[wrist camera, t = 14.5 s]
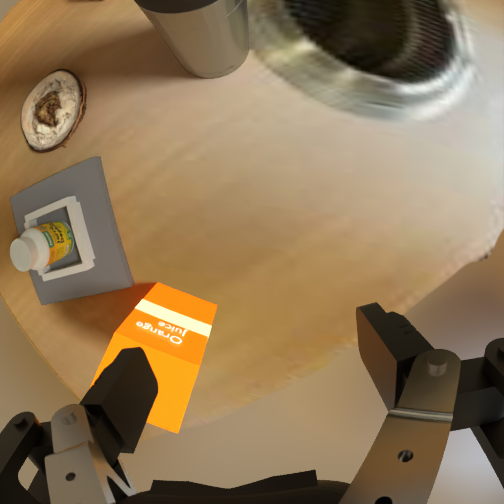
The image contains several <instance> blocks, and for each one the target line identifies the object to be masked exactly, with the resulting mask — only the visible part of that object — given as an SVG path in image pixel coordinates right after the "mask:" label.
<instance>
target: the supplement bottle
mask: <svg viewBox="0 0 504 504" xmlns="http://www.w3.org/2000/svg"><path fill="white" fill-rule="evenodd" d="M73 247H74V234H73V231H72V229H71V227H70V226H69V225H68V224H67V223H66V222H64V221H60V220H57V221H53V222H49V223H46V224H43V225H39V226H36V227H33V228H30V229H27V230H26V231H24V232H23V234H22V235H21V237H20V238H18V239H15V240H14V241H13V242H12V244H11V246H10V257H11V260H12V263H13V265H14V266H15V267H16V268H17V269H18V270H19V271H22V272H25V271H28V270H30V269H32V270H41V269H43V268H45V267H46V266H48V265H50V264H52V263H54V262H56V261H58V260H60V259H62V258H64V257H66V256H67V255H69V254H70V253H71V251H72V250H73Z"/></svg>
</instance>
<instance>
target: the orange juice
mask: <svg viewBox="0 0 504 504" xmlns="http://www.w3.org/2000/svg"><path fill="white" fill-rule="evenodd" d="M216 308H217V305H216V304H213V303H210V302H207V301H205V300H202V299H199V298H197V297H194V296H191V295H189V294H186V293H183V292H181V291H178V290H176V289H173V288H170V287H168V286H165V285H163V284H160V283H158V282H157V284H156V285H155V286H154V287H153V288H152V289H151V290H150V292H149V293H148V294H147V295H146V296H145V297H144V298H143V299H142V300H141V301H140V302H139V303H138V305H137V306H136V307H135V309H134V310H133V311H132V312H131V314H130V315H129V316H128V317H127V318H126V319H125V321H124V322H123V323H122V324H121V325H120V327H119V328H118V329H117V330H116V331H115V333H114V334H113V337H112V339H111V342H110V344H109V346H108V348H107V350H106V352H105V355H104V357H103V359H102V361H101V363H100V366H99V368H98V370H97V373H96V375H95V377H94V379H93V382H92V384H91V386H92V385H94V382H95V381H96V379H97V378H98V376H99V375H100V374H101V372H102V371H103V369H104V368H105V367H107V366H108V365H109V364H110V363H112V362H113V360H114V359H115V358H116V356H117V355H118V353H119V352H120V351H121V349H123V348H132V347H141V348H142V349H143V350H144V352H145V354H146V356H147V358H148V361H149V363H150V365H151V367H152V370H153V372H154V374H155V376H156V379H157V381H158V394H157V397H156V399H155V402H154V404H153V407H152V409H151V411H150V414H149V416H148V419H147V421H146V422H148V423H151V424H153V425H156V426H159V427H161V428H164V429H167V430H170V431H172V432H175V433H178V432H179V429H180V425H181V422H182V419H183V416H184V413H185V410H186V407H187V404H188V400H189V397H190V394H191V391H192V388H193V385H194V382H195V379H196V376H197V373H198V370H199V368H200V364H201V360H202V357H203V353H204V350H205V346H206V343H207V340H208V337H209V334H210V330H211V327H212V326H211V325H212V322H213V319H214V315H215V312H216ZM90 388H91V387H90Z"/></svg>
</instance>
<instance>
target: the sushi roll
mask: <svg viewBox="0 0 504 504" xmlns="http://www.w3.org/2000/svg"><path fill="white" fill-rule="evenodd" d="M86 96H87V95H86V87H85V85H84V83H82V82H81V81H80V80H79V78H78V77H77V76H76V75H75V74H74V73H72V72H71V71H69V70H66V69H58V70H56V71H54V72H52V73H50V74H49V75H47V76H46V77H45V78H44V79H42V80H41V81H40V82H39V83H38V84H37V85H36V86H35V87H34V88H33V89H32V90H31V93H29V94H28V96H27V98H26V99H25V101H24V104H23V108H22V115H21V123H22V128H23V131H24V135H25V138H26V139H27V140H26V141H27V142H28V144H29V145H30V147H31V148H32V149H33V150H35V151H37V152H48V151H52V150H54V149H56V148H58V147H60V146H62V145H64V147H65V148H66V146H65V144H66V143H67V141H68V140H69V139H70V137H71V136H72V134H73V133H74V132H75V130H76V129H77V127H78V124H79V123H80V122H81V121H82V119H83V116H84V114H85V110H86V105H87V104H85V103H86Z"/></svg>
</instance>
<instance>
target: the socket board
mask: <svg viewBox="0 0 504 504" xmlns="http://www.w3.org/2000/svg"><path fill="white" fill-rule="evenodd" d="M10 200H11V205H12V210H13V214H14V219H15V223H16V227H17V231H18V235H19V238H20V237H21V235H22V234H23V232H24V231H26V230H27V229H30V228H33V227H36V226H39V225H43V224H46V223H49V222H53V221H57V220H60V221H64V222H66V223H67V224H68V225H69V226H70V227H71V229H72V231H73V234H74V247H73V250H72V251H71V253H70V254H69V255H67V256H66V257H64V258H62V259H60V260H58V261H56V262H54V263H52V264H50V265H48V266H46V267H45V268H43V269H41V270H32V269H30V270H29V272H30V275H31V278H32V281H33V283H34V286H35V289H36V292H37V294H38V297H39V300H40V302H41V305H46V304H51V303H56V302H61V301H66V300H71V299H76V298H81V297H85V296H90V295H95V294H100V293H105V292H110V291H115V290H120V289H125V288H129V287H131V286H132V285H133V284H134V281H133V278H132V275H131V272H130V269H129V265H128V262H127V259H126V256H125V253H124V249H123V246H122V242H121V239H120V236H119V232H118V228H117V225H116V221H115V217H114V214H113V210H112V206H111V202H110V198H109V194H108V189H107V185H106V181H105V176H104V172H103V167H102V162H101V157H93V158H91V159H88V160H86V161H84V162H81V163H79V164H77V165H74V166H72V167H70V168H68V169H66V170H63V171H61V172H59V173H57V174H55V175H53V176H51V177H49V178H47V179H45V180H43V181H41V182H39V183H37V184H35V185H33V186H31V187H29V188H27V189H25V190H23V191H21V192H20V193H18V194H16V195H14V196H12V197H10Z"/></svg>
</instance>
